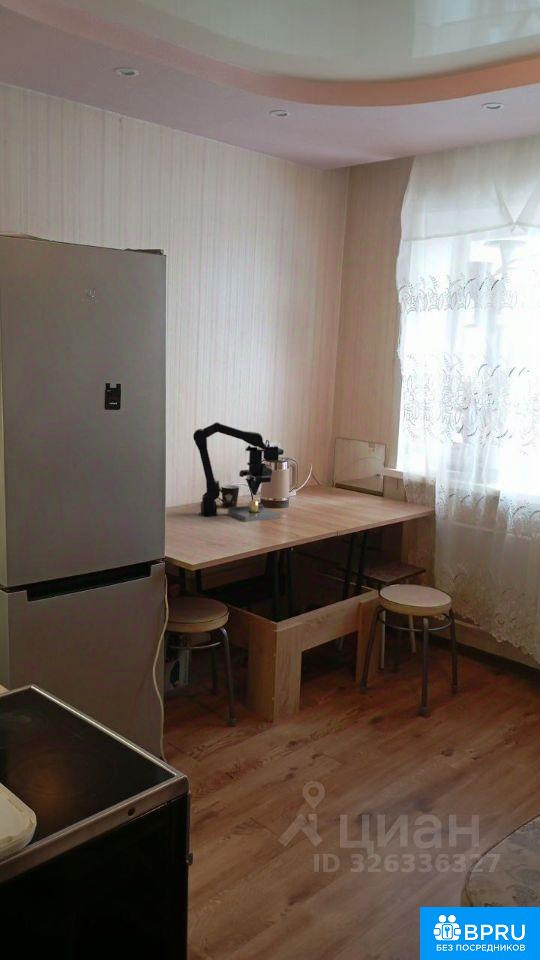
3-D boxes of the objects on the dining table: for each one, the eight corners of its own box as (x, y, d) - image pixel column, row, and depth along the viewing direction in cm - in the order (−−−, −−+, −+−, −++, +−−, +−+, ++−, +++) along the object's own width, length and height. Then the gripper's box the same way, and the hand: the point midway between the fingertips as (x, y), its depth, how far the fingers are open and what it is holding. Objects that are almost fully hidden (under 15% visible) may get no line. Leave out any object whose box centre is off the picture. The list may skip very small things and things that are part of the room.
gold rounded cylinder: (252, 517, 354) (252, 502, 352) (247, 515, 357) (248, 500, 356) (259, 516, 356) (260, 501, 355) (255, 515, 359) (255, 500, 358)
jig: (245, 521, 345) (245, 514, 344) (227, 514, 358) (228, 507, 358) (279, 518, 355) (279, 511, 354) (261, 511, 368) (261, 504, 367)
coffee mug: (242, 507, 376) (242, 486, 374) (231, 509, 368) (232, 489, 367) (222, 503, 382) (223, 483, 380) (212, 506, 374) (212, 485, 373)
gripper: (281, 463, 349) (280, 497, 351) (259, 457, 364) (258, 490, 367) (260, 464, 343) (259, 499, 345) (239, 458, 358) (238, 491, 361)
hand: (254, 494), depth 355 cm, fingers closed
